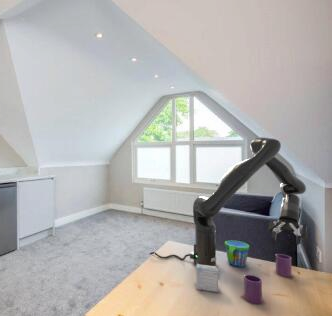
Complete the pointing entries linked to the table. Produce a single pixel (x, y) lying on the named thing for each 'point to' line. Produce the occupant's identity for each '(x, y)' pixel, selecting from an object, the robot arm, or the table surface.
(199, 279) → the medicine box
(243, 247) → the snack cup
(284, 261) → the plum cup
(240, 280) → the table surface
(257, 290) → the plum cup
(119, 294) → the table surface
